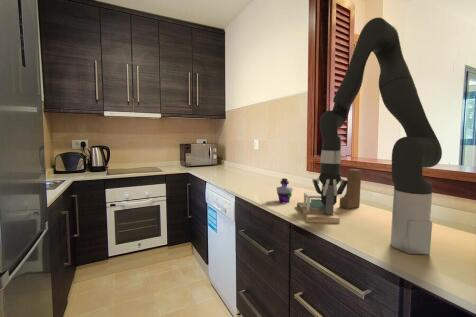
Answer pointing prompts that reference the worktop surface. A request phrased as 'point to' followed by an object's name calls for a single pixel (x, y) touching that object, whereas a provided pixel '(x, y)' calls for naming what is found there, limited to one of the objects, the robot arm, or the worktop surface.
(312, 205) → the block
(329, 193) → the grey angular piece
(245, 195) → the worktop surface
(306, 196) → the cream open box
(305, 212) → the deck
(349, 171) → the wooden block
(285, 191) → the potion bottle
